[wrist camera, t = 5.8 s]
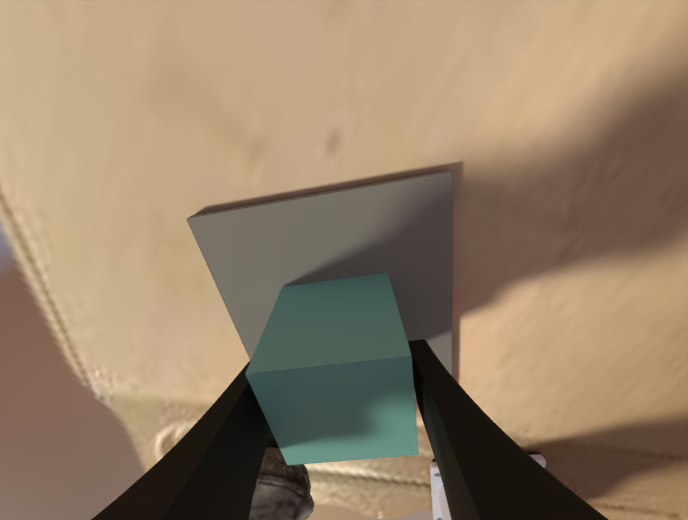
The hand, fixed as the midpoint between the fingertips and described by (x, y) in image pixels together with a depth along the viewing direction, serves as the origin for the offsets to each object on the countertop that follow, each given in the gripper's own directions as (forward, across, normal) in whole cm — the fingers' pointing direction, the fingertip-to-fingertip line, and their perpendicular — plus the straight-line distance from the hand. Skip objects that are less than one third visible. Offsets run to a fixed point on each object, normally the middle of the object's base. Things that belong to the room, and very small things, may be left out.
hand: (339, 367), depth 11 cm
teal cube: (+3, 0, 0) cm, 3 cm away
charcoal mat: (+3, 0, 0) cm, 3 cm away
